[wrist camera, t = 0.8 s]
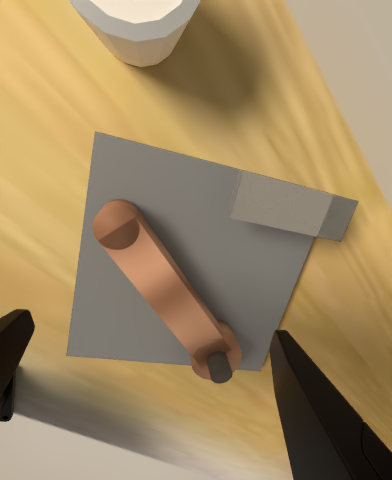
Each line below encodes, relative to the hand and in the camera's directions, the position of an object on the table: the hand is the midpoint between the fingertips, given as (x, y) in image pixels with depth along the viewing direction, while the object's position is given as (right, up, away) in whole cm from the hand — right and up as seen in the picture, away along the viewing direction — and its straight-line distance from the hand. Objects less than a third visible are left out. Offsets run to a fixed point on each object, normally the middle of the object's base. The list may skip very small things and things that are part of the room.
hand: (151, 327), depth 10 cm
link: (0, -1, +13) cm, 13 cm away
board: (+1, 0, +14) cm, 14 cm away
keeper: (+7, +7, +13) cm, 16 cm away
